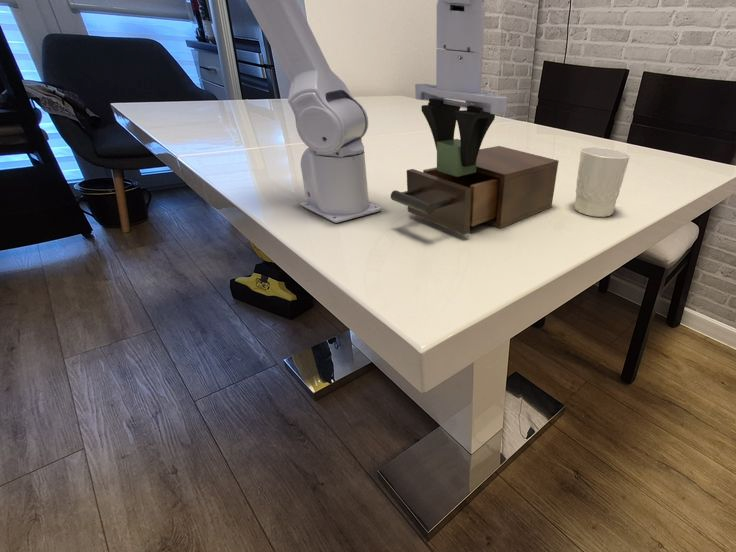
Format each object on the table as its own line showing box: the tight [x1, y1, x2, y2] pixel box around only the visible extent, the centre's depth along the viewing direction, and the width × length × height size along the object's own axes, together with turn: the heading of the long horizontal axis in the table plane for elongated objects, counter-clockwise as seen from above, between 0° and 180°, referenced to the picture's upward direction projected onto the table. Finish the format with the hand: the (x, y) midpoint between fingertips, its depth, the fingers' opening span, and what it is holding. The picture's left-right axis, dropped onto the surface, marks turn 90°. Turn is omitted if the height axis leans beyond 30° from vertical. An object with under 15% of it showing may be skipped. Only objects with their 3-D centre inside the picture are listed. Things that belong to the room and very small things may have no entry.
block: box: [436, 138, 477, 177], centre depth 56 cm, size 4×4×4 cm
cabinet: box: [476, 145, 559, 229], centre depth 66 cm, size 15×13×8 cm
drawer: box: [390, 166, 500, 235], centre depth 59 cm, size 18×11×6 cm, turn 142°
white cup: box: [574, 146, 631, 218], centre depth 68 cm, size 8×8×10 cm
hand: (456, 162), depth 57 cm, fingers closed on block, 4 cm apart
